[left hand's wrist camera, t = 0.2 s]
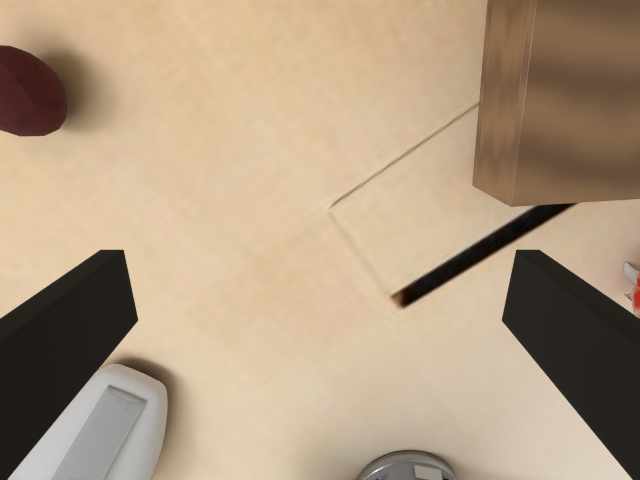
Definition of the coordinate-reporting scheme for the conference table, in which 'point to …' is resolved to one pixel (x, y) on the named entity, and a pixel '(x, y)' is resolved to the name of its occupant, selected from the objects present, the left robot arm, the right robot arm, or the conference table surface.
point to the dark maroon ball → (29, 95)
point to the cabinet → (560, 102)
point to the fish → (636, 277)
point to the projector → (103, 431)
